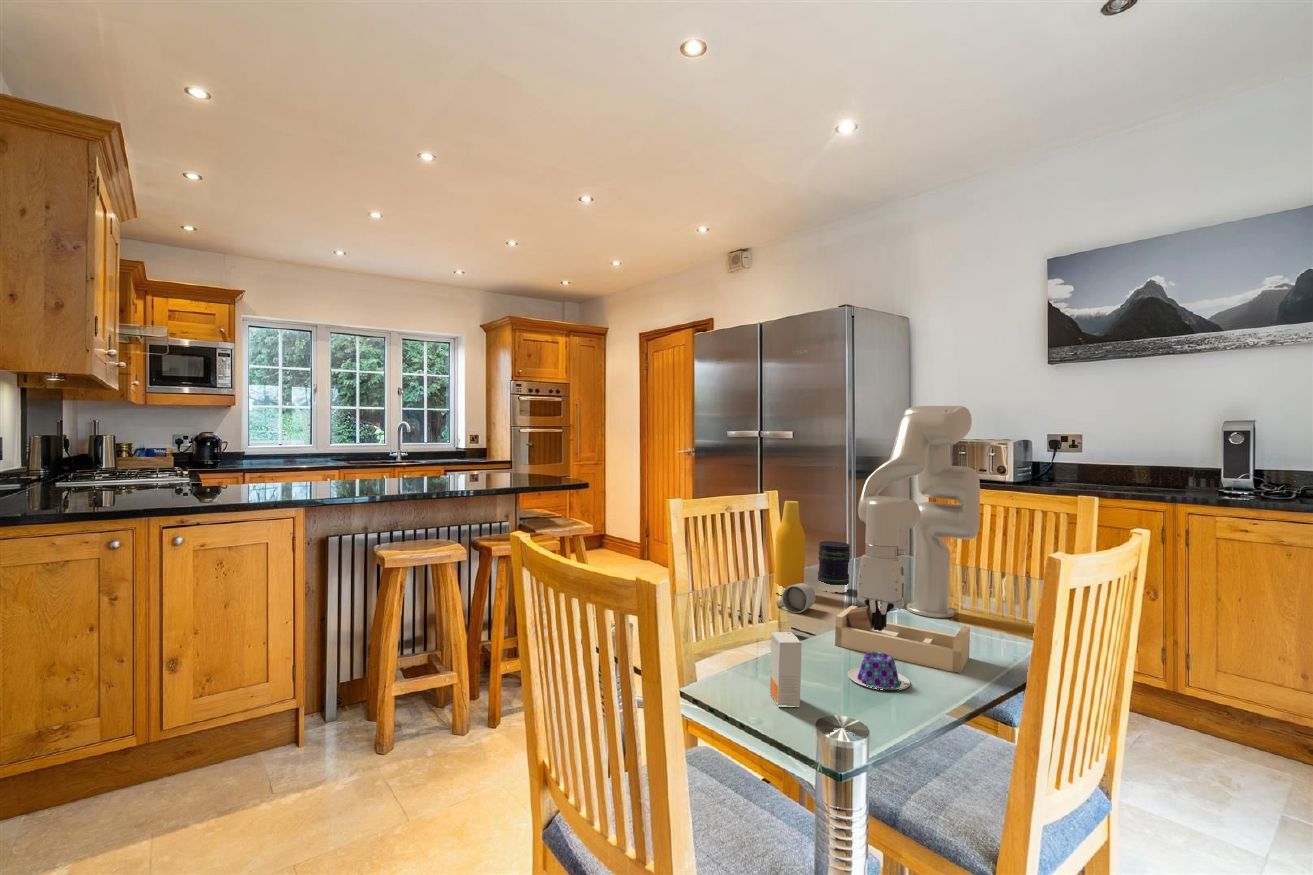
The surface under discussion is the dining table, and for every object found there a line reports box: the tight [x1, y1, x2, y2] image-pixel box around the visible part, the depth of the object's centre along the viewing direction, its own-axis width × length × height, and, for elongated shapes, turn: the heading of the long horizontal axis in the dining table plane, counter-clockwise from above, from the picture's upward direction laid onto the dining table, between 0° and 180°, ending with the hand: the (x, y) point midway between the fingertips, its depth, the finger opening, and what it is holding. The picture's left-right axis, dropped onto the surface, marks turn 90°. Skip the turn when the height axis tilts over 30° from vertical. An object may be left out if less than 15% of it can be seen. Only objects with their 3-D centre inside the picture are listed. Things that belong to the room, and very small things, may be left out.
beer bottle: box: [773, 500, 806, 589], centre depth 195 cm, size 9×9×29 cm
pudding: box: [847, 652, 911, 691], centre depth 126 cm, size 12×12×5 cm
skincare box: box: [769, 631, 803, 707], centre depth 115 cm, size 6×4×12 cm
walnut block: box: [847, 605, 874, 631], centre depth 149 cm, size 4×4×4 cm
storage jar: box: [817, 540, 851, 585], centre depth 202 cm, size 10×10×15 cm
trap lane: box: [834, 605, 971, 674], centre depth 144 cm, size 12×27×7 cm, turn 55°
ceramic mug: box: [775, 583, 816, 614], centre depth 177 cm, size 11×8×8 cm
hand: (878, 629), depth 146 cm, fingers closed
